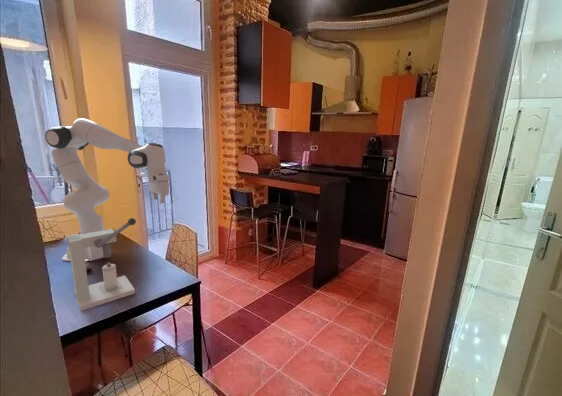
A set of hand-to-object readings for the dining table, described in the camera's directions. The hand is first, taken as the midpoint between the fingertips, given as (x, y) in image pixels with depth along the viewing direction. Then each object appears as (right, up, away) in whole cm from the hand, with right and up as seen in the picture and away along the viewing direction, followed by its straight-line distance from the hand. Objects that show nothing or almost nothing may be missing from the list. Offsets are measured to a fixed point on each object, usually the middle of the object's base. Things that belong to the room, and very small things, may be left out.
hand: (159, 201), depth 150 cm
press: (-11, -40, -23) cm, 48 cm away
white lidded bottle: (-11, -38, -23) cm, 46 cm away
